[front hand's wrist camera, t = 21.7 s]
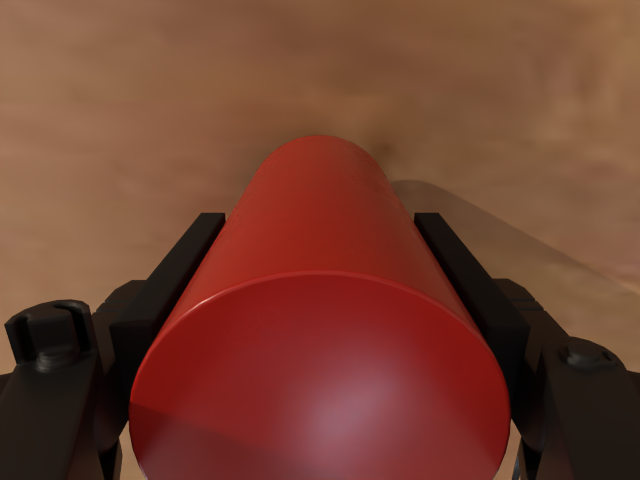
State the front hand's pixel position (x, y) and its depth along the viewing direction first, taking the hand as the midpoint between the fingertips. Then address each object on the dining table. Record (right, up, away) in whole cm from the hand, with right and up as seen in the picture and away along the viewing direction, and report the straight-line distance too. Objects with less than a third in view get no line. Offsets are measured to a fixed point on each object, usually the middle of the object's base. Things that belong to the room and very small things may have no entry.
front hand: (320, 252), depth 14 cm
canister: (0, +2, +4) cm, 5 cm away
